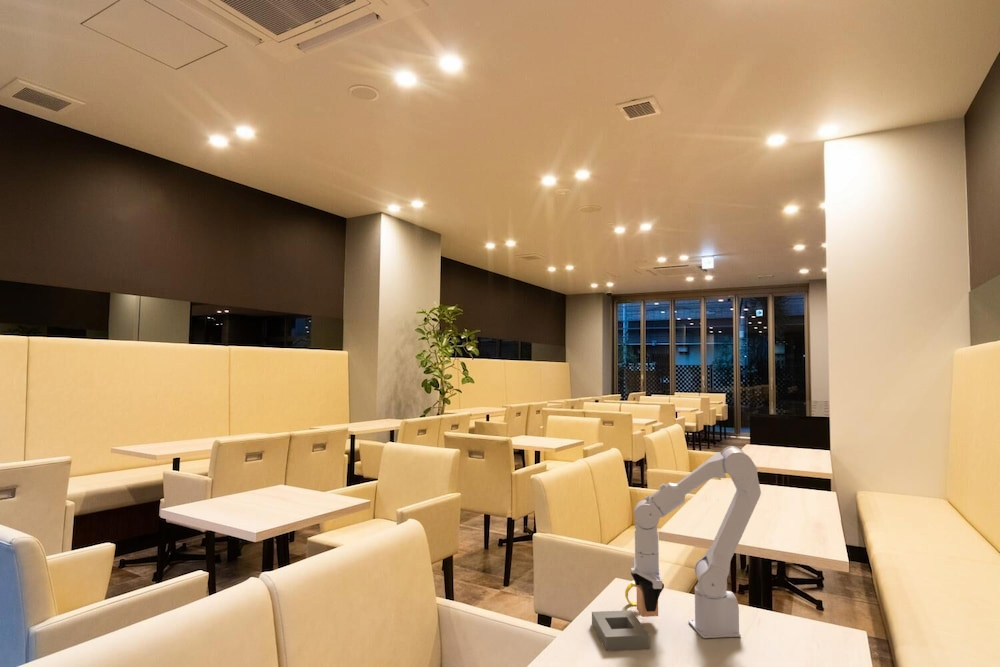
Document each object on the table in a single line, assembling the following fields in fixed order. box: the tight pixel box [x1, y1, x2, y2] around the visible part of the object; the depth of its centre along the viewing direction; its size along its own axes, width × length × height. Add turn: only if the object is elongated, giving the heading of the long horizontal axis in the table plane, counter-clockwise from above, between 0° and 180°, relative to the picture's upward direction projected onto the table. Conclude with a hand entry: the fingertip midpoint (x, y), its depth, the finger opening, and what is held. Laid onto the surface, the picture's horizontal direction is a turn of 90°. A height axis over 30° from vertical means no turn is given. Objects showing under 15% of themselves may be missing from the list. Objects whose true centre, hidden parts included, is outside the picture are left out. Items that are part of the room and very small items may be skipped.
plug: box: [636, 585, 659, 618], centre depth 134 cm, size 4×4×6 cm
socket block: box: [591, 609, 650, 652], centre depth 127 cm, size 10×12×3 cm
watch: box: [624, 579, 637, 607], centre depth 144 cm, size 6×3×6 cm, turn 94°
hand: (647, 606), depth 134 cm, fingers closed on plug, 4 cm apart
